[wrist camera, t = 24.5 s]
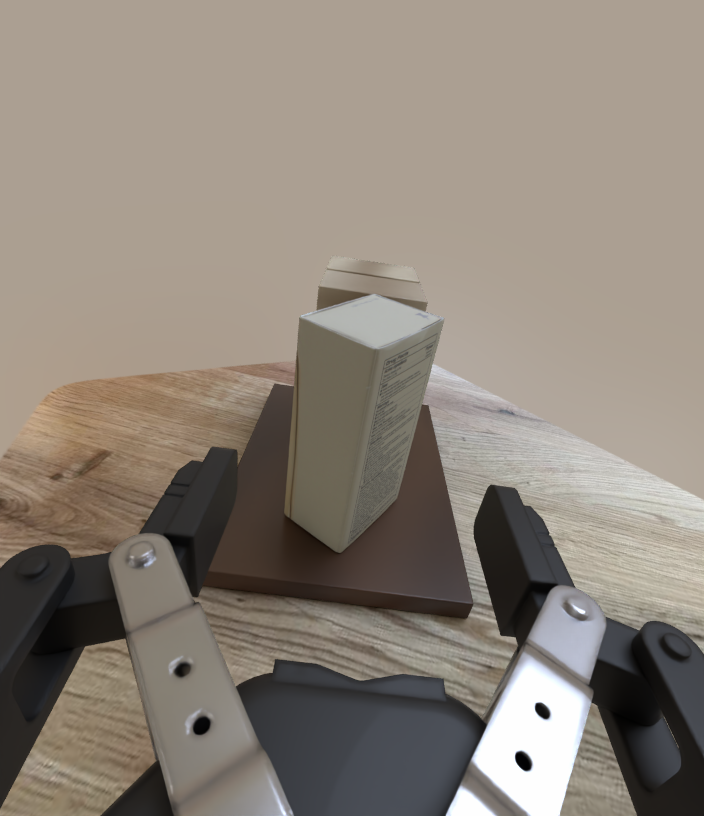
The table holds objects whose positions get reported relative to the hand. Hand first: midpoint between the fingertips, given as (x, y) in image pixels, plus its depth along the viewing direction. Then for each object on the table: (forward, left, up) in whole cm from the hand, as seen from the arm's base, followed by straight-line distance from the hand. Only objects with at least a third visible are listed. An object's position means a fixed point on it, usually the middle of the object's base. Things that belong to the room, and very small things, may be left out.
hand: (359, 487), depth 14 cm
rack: (+6, +11, -10) cm, 16 cm away
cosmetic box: (+4, +7, -9) cm, 13 cm away
